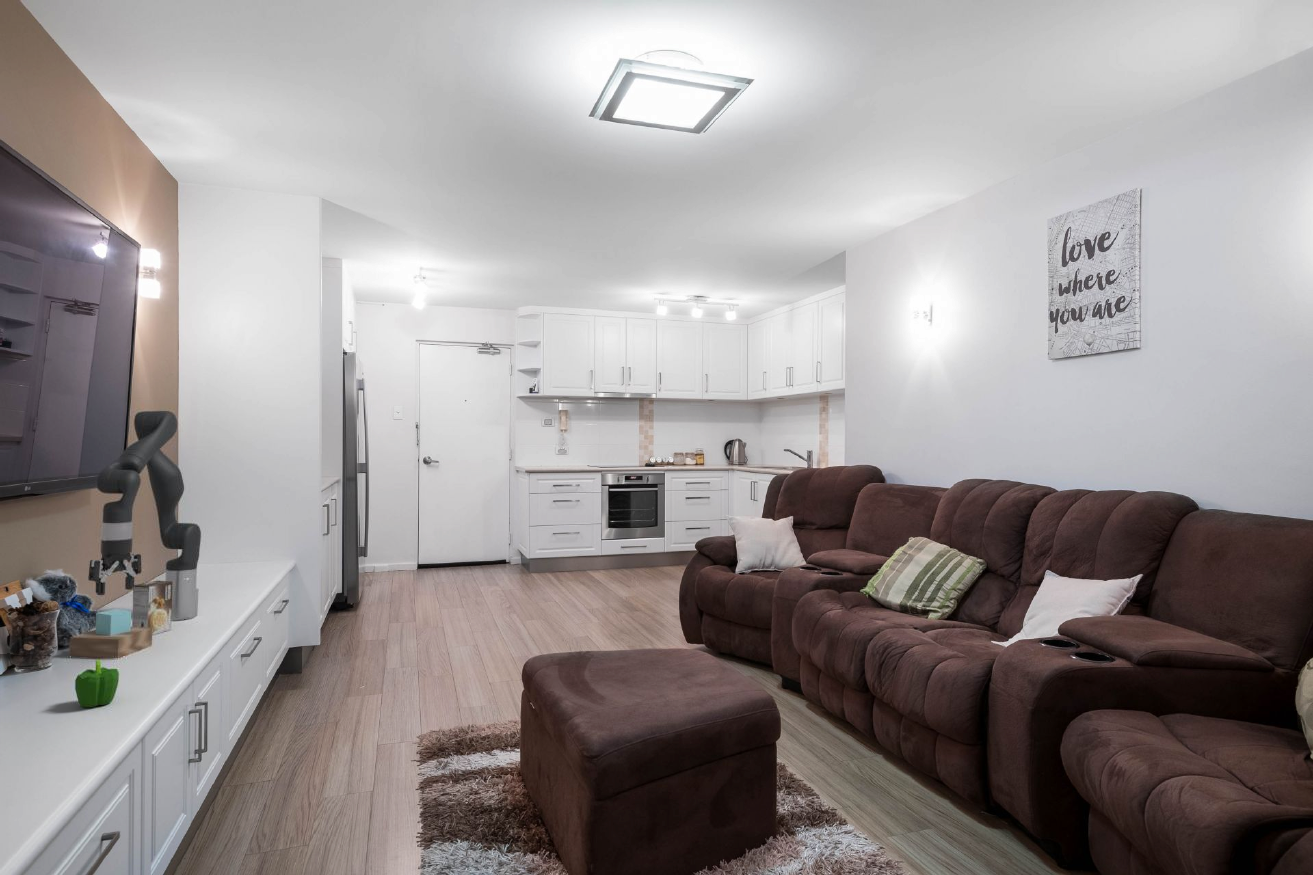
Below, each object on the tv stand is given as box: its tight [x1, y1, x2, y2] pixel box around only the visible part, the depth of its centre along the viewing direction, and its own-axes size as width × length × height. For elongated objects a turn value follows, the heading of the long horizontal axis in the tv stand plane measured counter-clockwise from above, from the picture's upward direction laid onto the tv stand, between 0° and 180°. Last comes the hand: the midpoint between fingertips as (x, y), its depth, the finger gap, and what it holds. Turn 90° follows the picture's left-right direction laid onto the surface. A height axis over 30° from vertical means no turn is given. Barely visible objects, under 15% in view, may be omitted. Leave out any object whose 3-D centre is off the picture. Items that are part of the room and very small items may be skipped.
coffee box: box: [131, 580, 173, 636], centre depth 241 cm, size 9×6×16 cm
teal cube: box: [95, 608, 132, 636], centre depth 219 cm, size 6×6×6 cm
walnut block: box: [68, 626, 153, 660], centre depth 219 cm, size 14×14×6 cm
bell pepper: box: [74, 659, 120, 708], centre depth 177 cm, size 8×8×10 cm
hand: (115, 592), depth 219 cm, fingers open, 8 cm apart
